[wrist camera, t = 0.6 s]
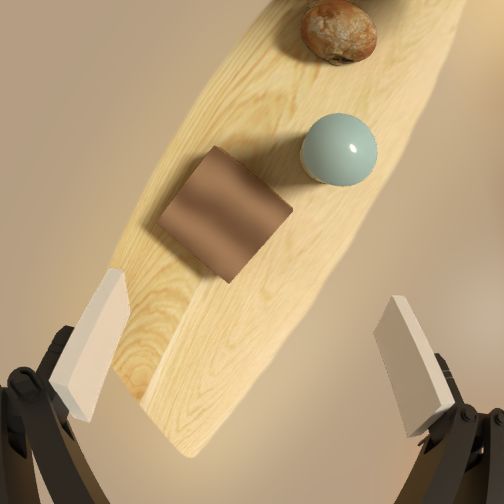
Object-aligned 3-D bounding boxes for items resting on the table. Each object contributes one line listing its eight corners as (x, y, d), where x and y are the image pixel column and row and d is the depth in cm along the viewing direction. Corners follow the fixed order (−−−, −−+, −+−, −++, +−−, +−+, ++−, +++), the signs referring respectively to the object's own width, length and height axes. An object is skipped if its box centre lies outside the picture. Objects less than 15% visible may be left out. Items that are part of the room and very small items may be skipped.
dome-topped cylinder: (323, 118, 36) (336, 99, 25) (363, 155, 37) (391, 148, 26) (288, 158, 38) (289, 151, 27) (329, 194, 38) (345, 201, 28)
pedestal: (221, 148, 38) (214, 145, 34) (292, 207, 39) (292, 211, 35) (167, 218, 41) (156, 222, 38) (234, 273, 42) (228, 283, 38)
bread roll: (305, 65, 38) (314, 71, 31) (291, 2, 31) (297, -6, 25) (369, 60, 36) (390, 65, 30) (358, -2, 30) (377, -9, 24)
